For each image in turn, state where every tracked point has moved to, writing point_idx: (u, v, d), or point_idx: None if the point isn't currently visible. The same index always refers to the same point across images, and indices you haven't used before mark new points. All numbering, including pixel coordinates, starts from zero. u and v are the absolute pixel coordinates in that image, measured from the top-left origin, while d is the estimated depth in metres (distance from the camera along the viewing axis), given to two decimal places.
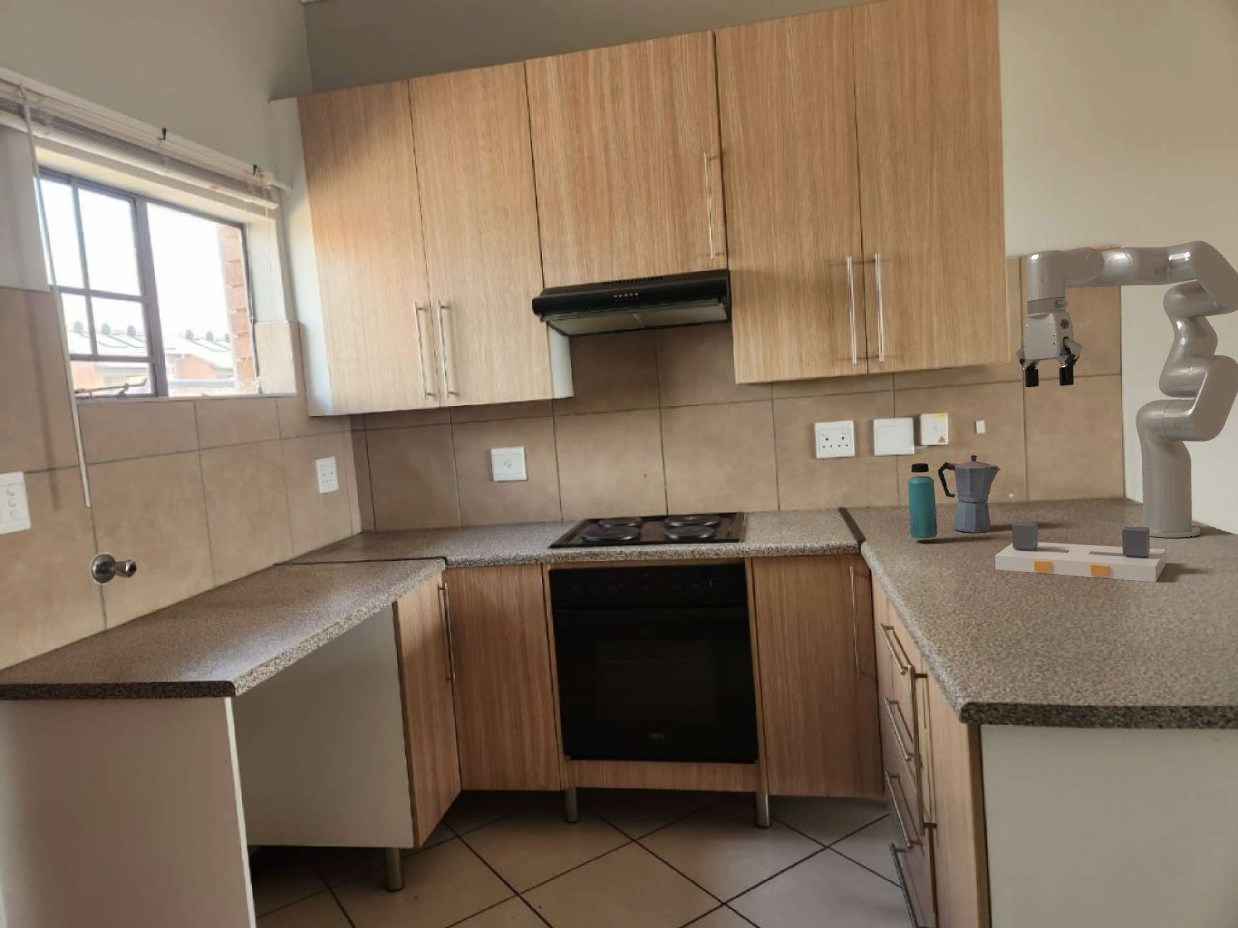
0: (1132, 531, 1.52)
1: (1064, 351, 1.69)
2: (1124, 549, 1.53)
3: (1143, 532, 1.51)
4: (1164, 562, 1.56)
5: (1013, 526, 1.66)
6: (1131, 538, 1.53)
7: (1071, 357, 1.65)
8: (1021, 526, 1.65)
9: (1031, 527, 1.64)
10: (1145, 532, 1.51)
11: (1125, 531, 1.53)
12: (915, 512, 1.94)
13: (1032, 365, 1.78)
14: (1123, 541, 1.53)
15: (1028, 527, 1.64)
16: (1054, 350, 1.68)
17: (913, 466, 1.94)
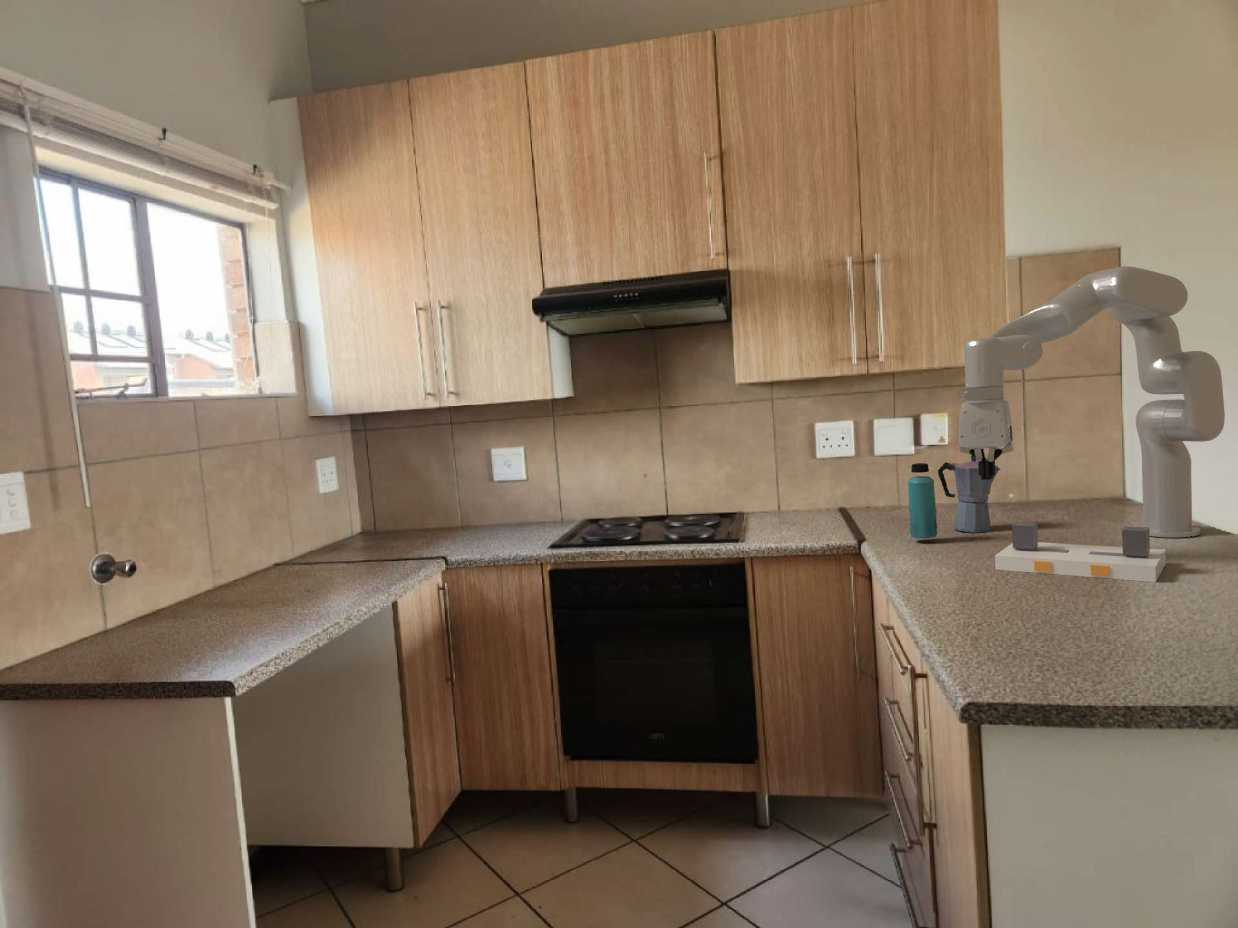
0: (1132, 531, 1.52)
1: None
2: (1124, 549, 1.53)
3: (1143, 532, 1.51)
4: (1164, 562, 1.56)
5: (1013, 526, 1.66)
6: (1131, 538, 1.53)
7: None
8: (1021, 526, 1.65)
9: (1031, 527, 1.64)
10: (1145, 532, 1.51)
11: (1125, 531, 1.53)
12: (915, 512, 1.94)
13: None
14: (1123, 541, 1.53)
15: (1028, 527, 1.64)
16: None
17: (913, 466, 1.94)
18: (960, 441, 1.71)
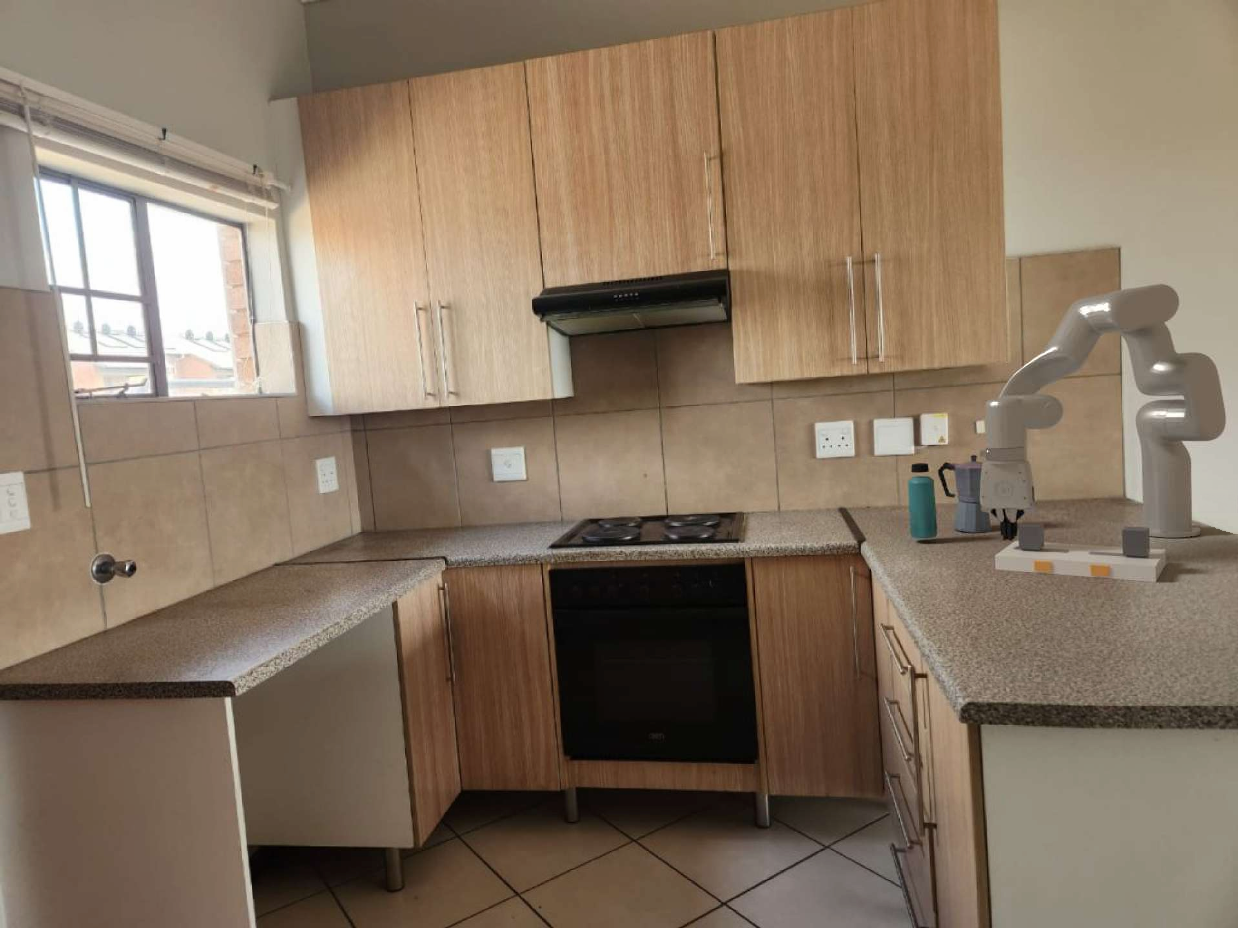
0: (1132, 531, 1.52)
1: None
2: (1124, 549, 1.53)
3: (1143, 532, 1.51)
4: (1164, 562, 1.56)
5: (1019, 526, 1.66)
6: (1131, 538, 1.53)
7: None
8: (1027, 526, 1.65)
9: (1037, 527, 1.63)
10: (1145, 532, 1.51)
11: (1125, 531, 1.53)
12: (915, 512, 1.94)
13: None
14: (1123, 541, 1.53)
15: (1034, 528, 1.64)
16: None
17: (913, 466, 1.94)
18: (981, 501, 1.69)
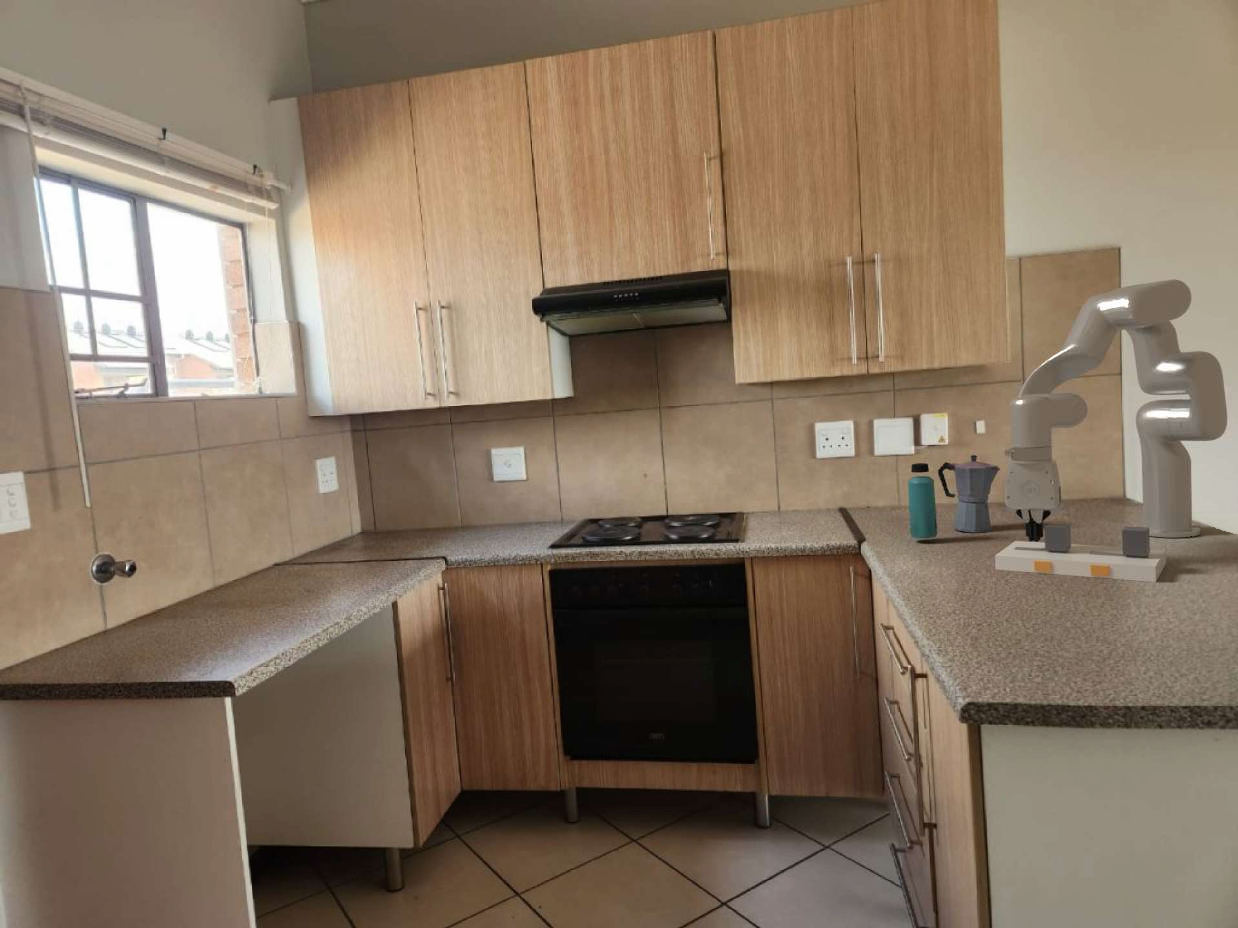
0: (1132, 531, 1.52)
1: None
2: (1124, 549, 1.53)
3: (1143, 532, 1.51)
4: (1164, 562, 1.56)
5: (1046, 527, 1.62)
6: (1131, 538, 1.53)
7: None
8: (1054, 527, 1.61)
9: (1064, 529, 1.60)
10: (1145, 532, 1.51)
11: (1125, 531, 1.53)
12: (915, 512, 1.94)
13: None
14: (1123, 541, 1.53)
15: (1061, 529, 1.60)
16: None
17: (913, 466, 1.94)
18: (1006, 501, 1.66)
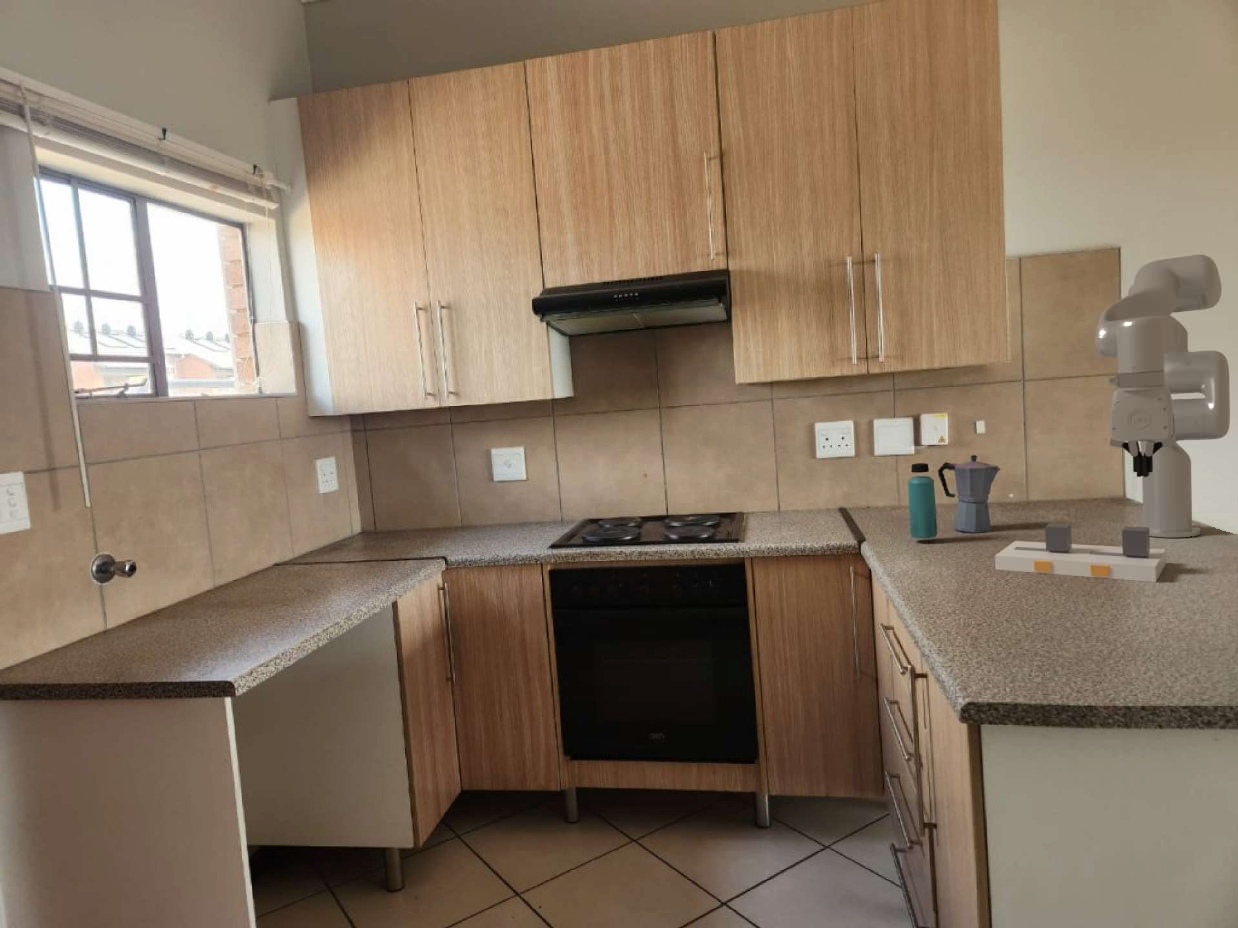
0: (1132, 531, 1.52)
1: None
2: (1124, 549, 1.53)
3: (1143, 532, 1.51)
4: (1164, 562, 1.56)
5: (1046, 527, 1.62)
6: (1131, 538, 1.53)
7: None
8: (1055, 528, 1.61)
9: (1065, 529, 1.60)
10: (1145, 532, 1.51)
11: (1125, 531, 1.53)
12: (915, 512, 1.94)
13: None
14: (1123, 541, 1.53)
15: (1062, 529, 1.60)
16: None
17: (913, 466, 1.94)
18: (1112, 434, 1.52)
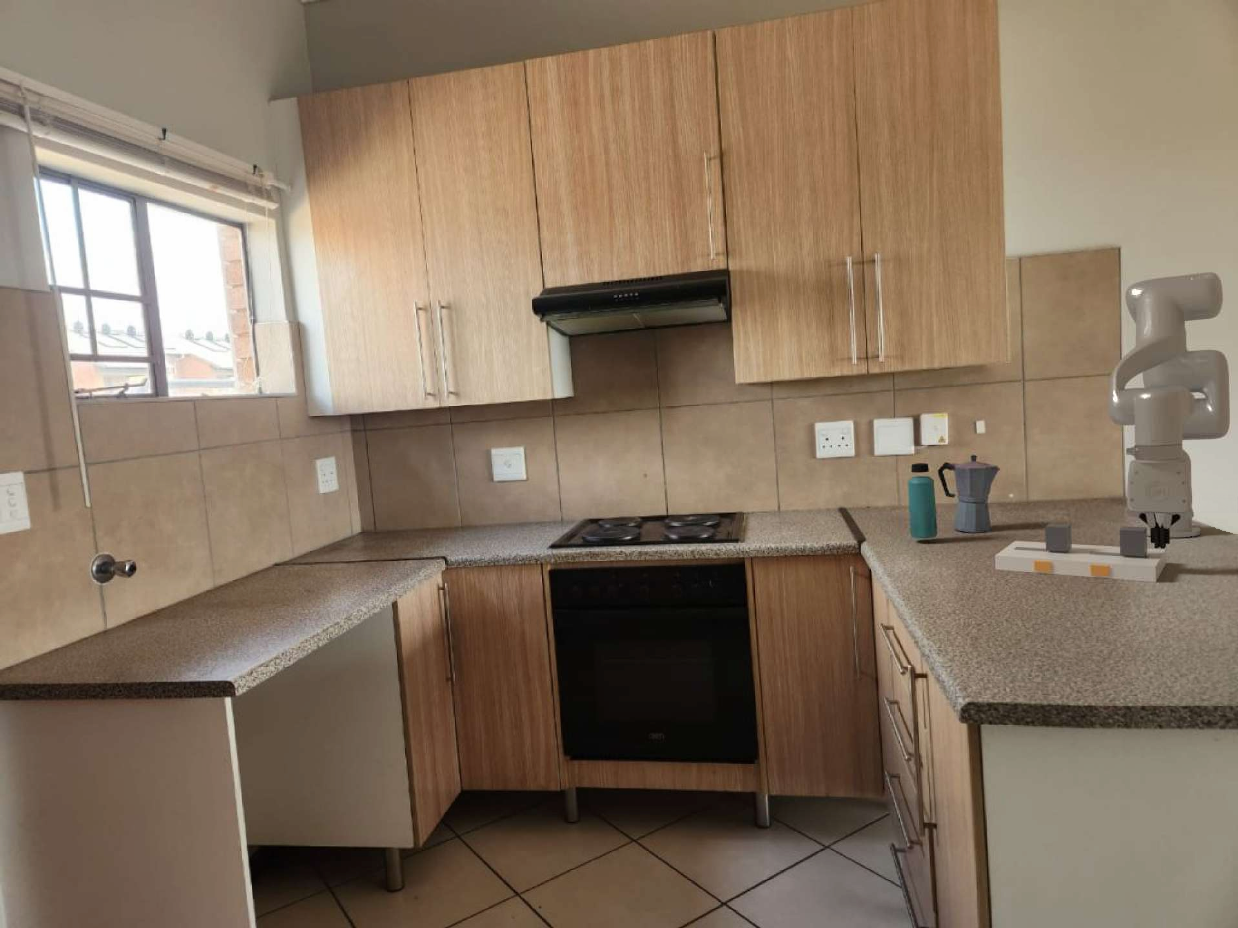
0: (1129, 531, 1.53)
1: None
2: (1122, 549, 1.54)
3: (1140, 532, 1.51)
4: (1164, 562, 1.56)
5: (1046, 527, 1.62)
6: (1129, 538, 1.53)
7: None
8: (1055, 528, 1.61)
9: (1065, 529, 1.60)
10: (1142, 532, 1.51)
11: (1123, 531, 1.53)
12: (915, 512, 1.94)
13: None
14: (1121, 541, 1.54)
15: (1062, 529, 1.60)
16: None
17: (913, 466, 1.94)
18: (1129, 504, 1.51)
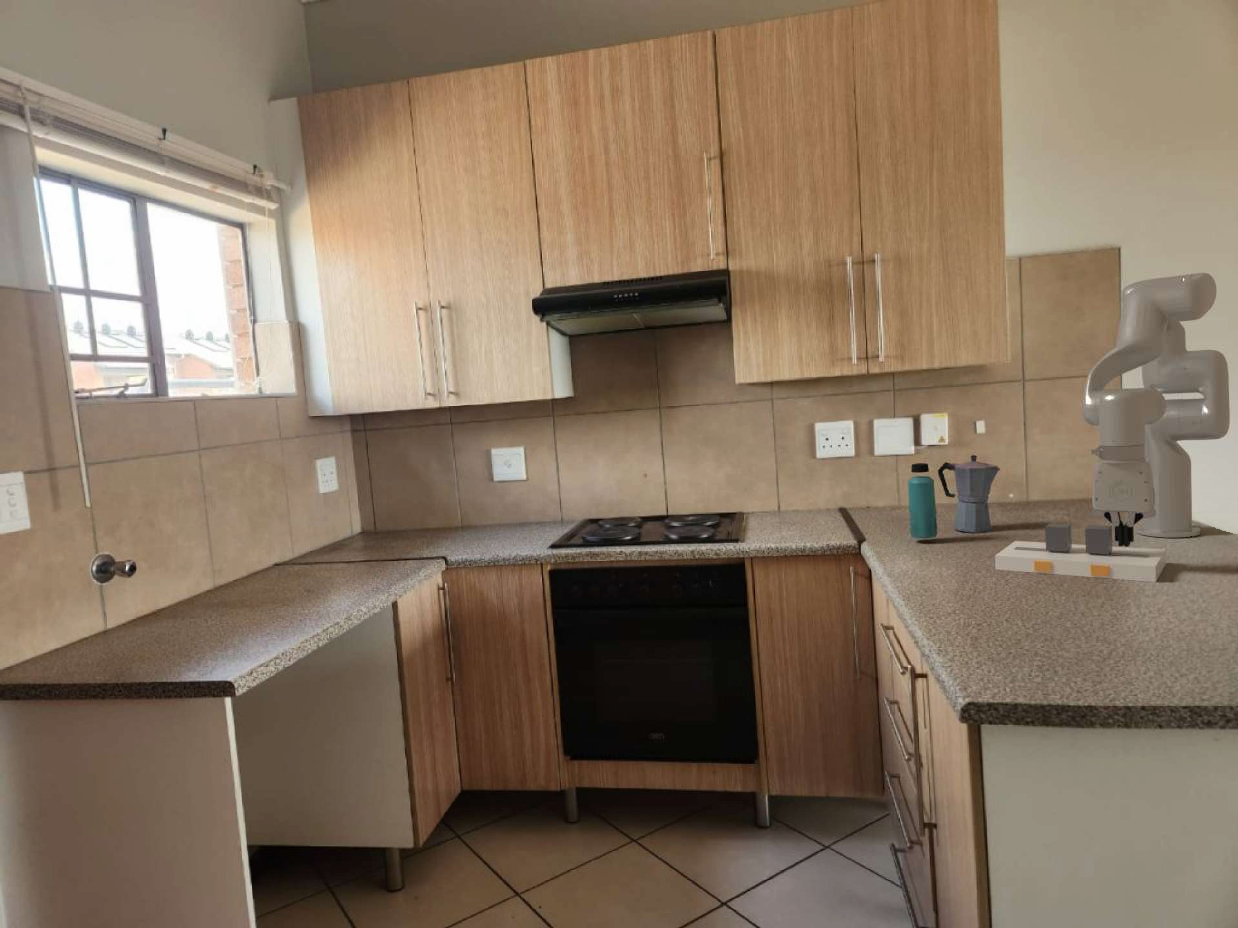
0: (1095, 529, 1.56)
1: None
2: (1087, 547, 1.58)
3: (1105, 530, 1.55)
4: (1164, 562, 1.56)
5: (1046, 527, 1.62)
6: (1094, 536, 1.57)
7: None
8: (1055, 528, 1.61)
9: (1065, 529, 1.60)
10: (1107, 530, 1.55)
11: (1088, 529, 1.57)
12: (915, 512, 1.94)
13: None
14: (1086, 539, 1.58)
15: (1062, 529, 1.60)
16: None
17: (913, 466, 1.94)
18: (1094, 504, 1.55)
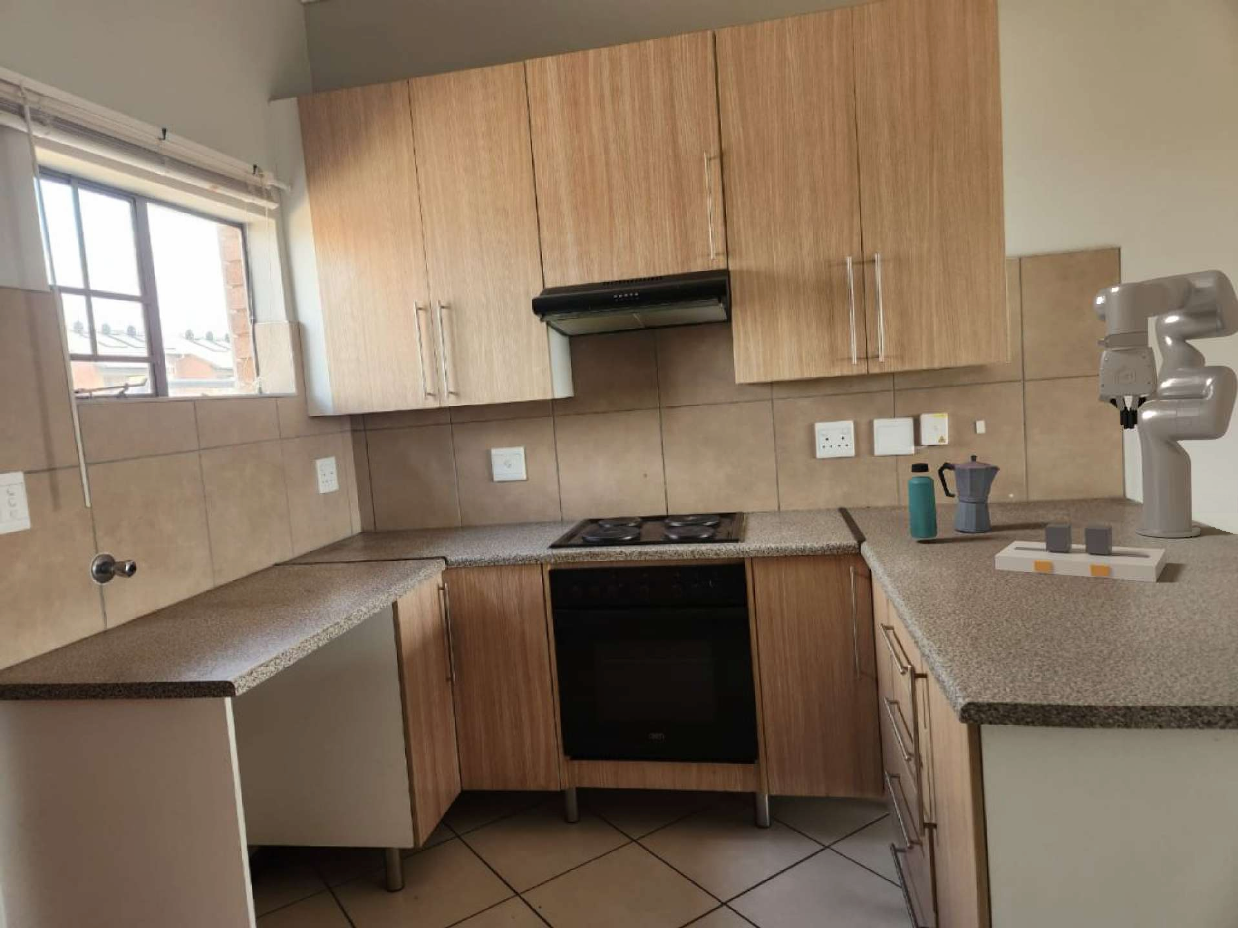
0: (1094, 529, 1.56)
1: None
2: (1087, 547, 1.58)
3: (1105, 530, 1.55)
4: (1164, 562, 1.56)
5: (1046, 527, 1.62)
6: (1094, 536, 1.57)
7: None
8: (1055, 528, 1.61)
9: (1065, 529, 1.60)
10: (1107, 530, 1.55)
11: (1088, 529, 1.57)
12: (915, 512, 1.94)
13: None
14: (1086, 539, 1.58)
15: (1062, 529, 1.60)
16: None
17: (913, 466, 1.94)
18: (1101, 390, 1.67)
